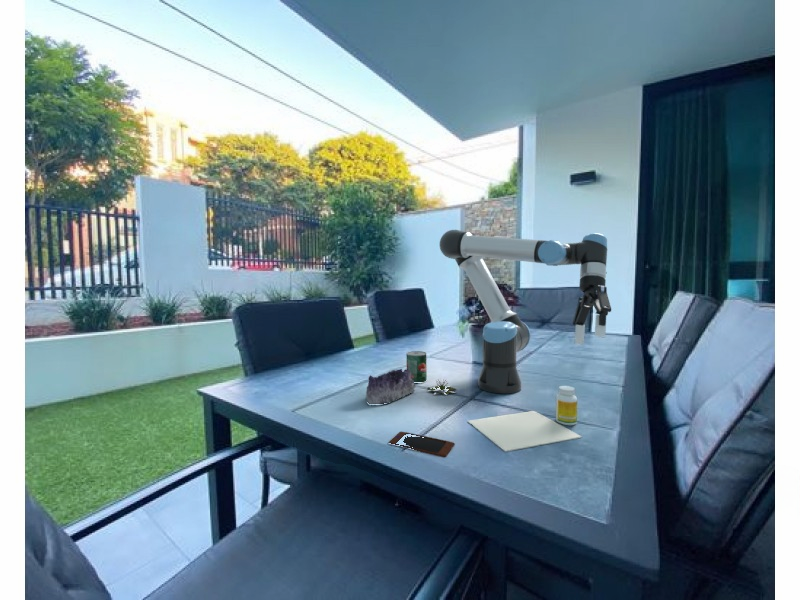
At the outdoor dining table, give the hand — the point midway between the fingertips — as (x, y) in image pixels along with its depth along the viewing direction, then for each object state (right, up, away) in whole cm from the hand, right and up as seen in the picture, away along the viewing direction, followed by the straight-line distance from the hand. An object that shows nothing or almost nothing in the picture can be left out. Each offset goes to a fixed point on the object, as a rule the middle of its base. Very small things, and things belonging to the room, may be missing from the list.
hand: (588, 340), depth 111 cm
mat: (-27, -21, -18) cm, 39 cm away
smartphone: (-55, -23, -25) cm, 64 cm away
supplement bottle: (-14, -21, -14) cm, 28 cm away
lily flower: (-45, -20, +14) cm, 51 cm away
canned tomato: (-53, -19, +27) cm, 63 cm away
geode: (-63, -21, +9) cm, 67 cm away
